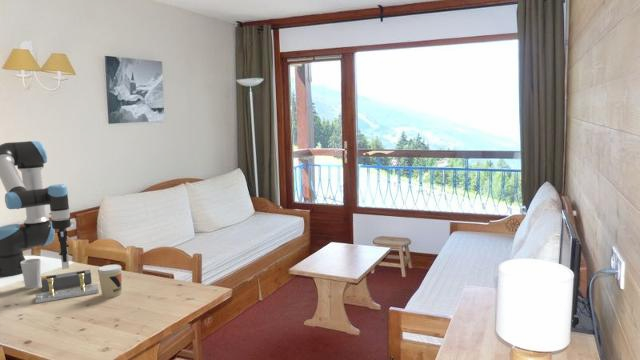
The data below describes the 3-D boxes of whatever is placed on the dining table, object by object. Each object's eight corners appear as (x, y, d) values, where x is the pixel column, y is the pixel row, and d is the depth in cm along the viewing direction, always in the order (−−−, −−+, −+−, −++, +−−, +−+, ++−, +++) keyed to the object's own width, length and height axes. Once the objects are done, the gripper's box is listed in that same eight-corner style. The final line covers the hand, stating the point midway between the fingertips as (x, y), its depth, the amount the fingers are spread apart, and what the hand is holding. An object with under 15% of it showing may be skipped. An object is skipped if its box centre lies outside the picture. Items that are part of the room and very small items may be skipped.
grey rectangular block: (42, 291, 225) (41, 279, 225) (42, 287, 231) (41, 275, 230) (91, 283, 234) (90, 271, 234) (91, 279, 240) (89, 268, 239)
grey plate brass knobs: (35, 303, 211) (33, 283, 210) (36, 297, 218) (34, 278, 217) (98, 292, 221) (96, 274, 220) (97, 287, 229) (95, 269, 227)
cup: (46, 283, 236) (44, 258, 235) (35, 289, 228) (33, 263, 227) (30, 283, 237) (28, 258, 235) (19, 289, 229) (16, 263, 227)
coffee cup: (115, 298, 213) (112, 271, 212) (95, 297, 215) (92, 270, 214) (128, 291, 222) (125, 264, 221) (108, 290, 224) (106, 263, 223)
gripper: (51, 215, 238) (56, 260, 240) (50, 224, 216) (56, 273, 218) (69, 213, 241) (74, 257, 244) (70, 222, 219) (75, 270, 222)
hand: (65, 265), depth 231 cm, fingers open, 13 cm apart
